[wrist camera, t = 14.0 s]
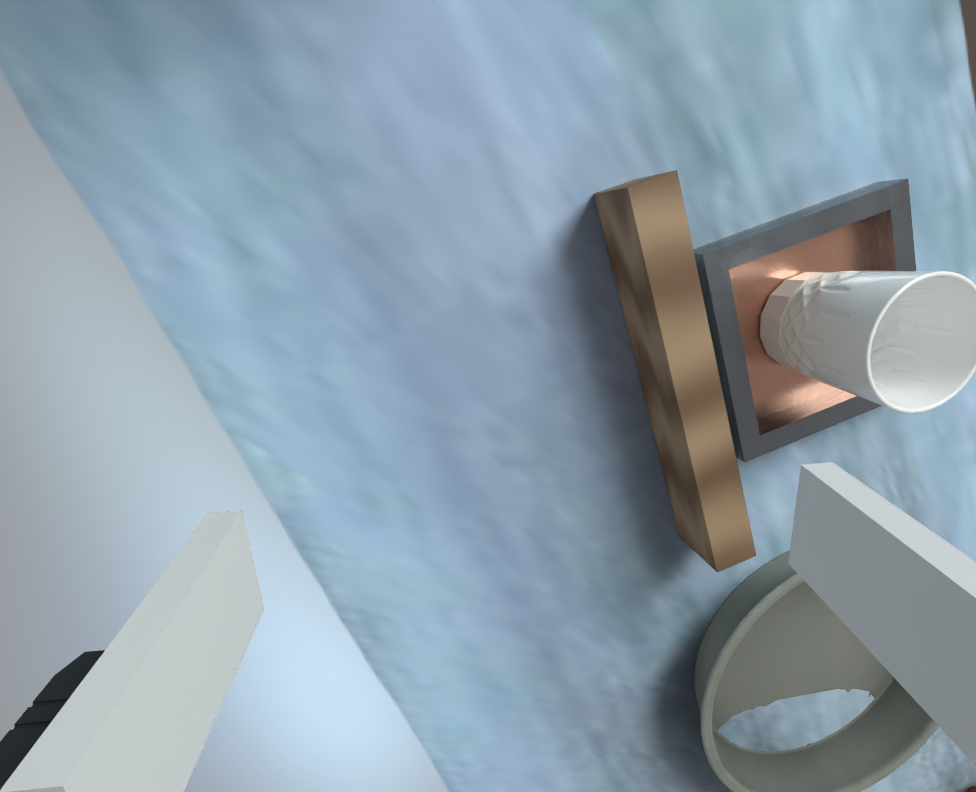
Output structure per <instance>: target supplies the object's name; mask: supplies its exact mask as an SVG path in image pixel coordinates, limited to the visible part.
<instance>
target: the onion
mask: <svg viewBox="0 0 976 792" xmlns="http://www.w3.org/2000/svg"><path fill="white" fill-rule="evenodd" d="M968 792H976V787H971V788H970V789H969V791H968Z"/></svg>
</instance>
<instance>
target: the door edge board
mask: <svg viewBox="0 0 976 792" xmlns="http://www.w3.org/2000/svg"><path fill="white" fill-rule="evenodd" d="M594 198H595V202H596V206H597V210H598V214H599V218H600V222H601V226H602V230H603V234H604V238H605V242H606V246H607V250H608V254H609V257H610V261H611V265H612V269H613V273H614V277H615V281H616V285H617V289H618V293H619V297H620V301H621V305H622V309H623V313H624V317H625V321H626V325H627V329H628V333H629V337H630V341H631V345H632V349H633V353H634V357H635V361H636V365H637V369H638V373H639V377H640V381H641V385H642V389H643V393H644V397H645V401H646V405H647V409H648V412H649V416H650V420H651V424H652V428H653V432H654V436H655V440H656V444H657V448H658V452H659V456H660V460H661V464H662V468H663V472H664V476H665V480H666V484H667V488H668V492H669V496H670V500H671V504H672V508H673V512H674V516H675V520H676V524H677V528H678V532H679V536H680V538H681V539H682V540H683V541H684V542H686V543H687V544H688V545H689V546H690V547H691V548H692V549H693V550H694V551H695V552H696V553H697V554H698V555H699V556H700V557H701V558H703V559H704V560H705V561H706V562H707V563H708V564H709V565H710V566H711V567H712V568H713V569H714V570H715V571H716V572H719V571H722V570H724V569H726V568H729V567H731V566H733V565H736V564H738V563H740V562H743V561H745V560H747V559H749V558H752V557H754V556H756V552H755V548H754V543H753V538H752V533H751V528H750V523H749V518H748V514H747V509H746V504H745V499H744V494H743V489H742V484H741V479H740V475H739V470H738V465H737V460H736V455H735V450H734V445H733V441H732V436H731V431H730V426H729V421H728V416H727V411H726V407H725V402H724V397H723V392H722V387H721V382H720V377H719V372H718V368H717V363H716V358H715V353H714V348H713V343H712V338H711V334H710V329H709V324H708V319H707V314H706V309H705V304H704V300H703V295H702V290H701V285H700V280H699V275H698V270H697V266H696V261H695V256H694V251H693V246H692V241H691V236H690V231H689V227H688V222H687V217H686V212H685V207H684V202H683V197H682V193H681V188H680V183H679V178H678V173H677V170H676V171H672V172H667V173H662V174H658V175H653V176H648V177H644V178H639V179H635V180H632V181H630V182H627V183H624V184H621V185H618V186H615V187H612V188H610V189H607V190H604V191H601V192H598V193H595V194H594Z"/></svg>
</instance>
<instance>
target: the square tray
mask: <svg viewBox="0 0 976 792" xmlns="http://www.w3.org/2000/svg"><path fill="white" fill-rule="evenodd" d="M693 251H694V256H695V261H696V266H697V270H698V275H699V280H700V285H701V290H702V295H703V300H704V304H705V309H706V314H707V319H708V324H709V329H710V334H711V338H712V343H713V348H714V353H715V358H716V363H717V368H718V372H719V377H720V382H721V387H722V392H723V397H724V402H725V407H726V411H727V416H728V421H729V426H730V431H731V436H732V441H733V445H734V450H735V455H736V457H737V458H739V459H740V460H742V461H744V462H746V461H748V460H751V459H753V458H756V457H758V456H761V455H763V454H765V453H768V452H770V451H773V450H775V449H777V448H780V447H782V446H785V445H787V444H790V443H792V442H794V441H797V440H799V439H802V438H804V437H806V436H809V435H811V434H814V433H816V432H819V431H821V430H823V429H826V428H828V427H831V426H833V425H835V424H838V423H840V422H843V421H845V420H848V419H850V418H852V417H855V416H857V415H860V414H862V413H864V412H867V411H869V410H872V409H874V408H877V407H879V406H881V405H879V404H877V403H874V402H871V401H869V400H866V399H864V398H861V397H858V396H855V395H853V394H850V393H847V392H845V391H842V390H839V389H837V388H834V387H832V386H829V385H827V384H825V383H823V382H820V381H817V380H814V379H812V378H810V377H808V376H806V375H804V374H802V373H800V372H798V371H795V370H792V369H789V368H787V367H784V366H782V365H780V364H779V363H778V362H776V361H775V360H774V359H772V358H771V357H770V356H768V355H767V353H766V351H765V348H764V346H763V343H762V341H761V339H760V317H761V313H762V311H763V309H764V307H765V304H766V302H767V300H768V298H769V296H770V294H771V293H772V292H773V291H774V290H775V289H776V288H777V287H778V286H779V285H780V284H781V283H782V282H783V281H785V280H786V279H788V278H791V277H793V276H796V275H799V274H801V273H804V272H827V273H828V272H829V273H832V272H840V271H916V264H915V252H914V241H913V229H912V218H911V206H910V195H909V184H908V179H901V180H892V181H882V182H876V183H874V184H871V185H868V186H865V187H863V188H860V189H857V190H854V191H852V192H849V193H846V194H844V195H841V196H838V197H835V198H833V199H830V200H827V201H825V202H822V203H819V204H816V205H814V206H811V207H808V208H805V209H803V210H800V211H797V212H795V213H792V214H789V215H786V216H784V217H781V218H778V219H776V220H773V221H770V222H767V223H765V224H762V225H759V226H756V227H754V228H751V229H748V230H746V231H743V232H740V233H737V234H735V235H732V236H729V237H727V238H724V239H721V240H718V241H716V242H713V243H710V244H707V245H705V246H702V247H699V248H697V249H694V250H693Z"/></svg>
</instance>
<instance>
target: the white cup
mask: <svg viewBox="0 0 976 792" xmlns="http://www.w3.org/2000/svg"><path fill="white" fill-rule="evenodd" d="M760 339H761V341H762V343H763V346H764V348H765V351H766V353H767V355H768V356H770V357H771V358H772V359H774V360H775V361H776V362H778V363H779V364H780V365H782V366H784V367H787V368H789V369H792V370H795V371H798V372H800V373H802V374H804V375H806V376H808V377H810V378H812V379H814V380H817V381H820V382H823V383H825V384H827V385H829V386H832V387H834V388H837V389H839V390H842V391H845V392H847V393H850V394H853V395H855V396H858V397H861V398H864V399H866V400H869V401H871V402H874V403H877V404H879V405H882V406H884V407H887V408H890V409H892V410H895V411H898V412H902V413H921V412H926V411H929V410H932V409H934V408H936V407H938V406H940V405H942V404H944V403H945V402H947V401H948V400H950V399H951V398H952V397H954V396H955V395H956V394H957V393H958V392H959V391H960V390H961V389H962V388H963V387H964V386H965V385H966V383H967V382H968V381H969V380H970V378H971V377H972V375H973V374H974V372H975V370H976V285H975V284H974V283H973V282H972V281H970V280H969V279H968V278H966V277H964V276H962V275H960V274H957V273H953V272H947V271H840V272H832V273H829V272H828V273H827V272H804V273H801V274H799V275H796V276H793V277H791V278H788V279H786V280H785V281H783V282H782V283H781V284H780V285H779V286H778V287H777V288H776V289H775V290H774V291H773V292H772V293H771V294H770V296H769V298H768V300H767V302H766V304H765V307H764V309H763V311H762V313H761V317H760Z"/></svg>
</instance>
